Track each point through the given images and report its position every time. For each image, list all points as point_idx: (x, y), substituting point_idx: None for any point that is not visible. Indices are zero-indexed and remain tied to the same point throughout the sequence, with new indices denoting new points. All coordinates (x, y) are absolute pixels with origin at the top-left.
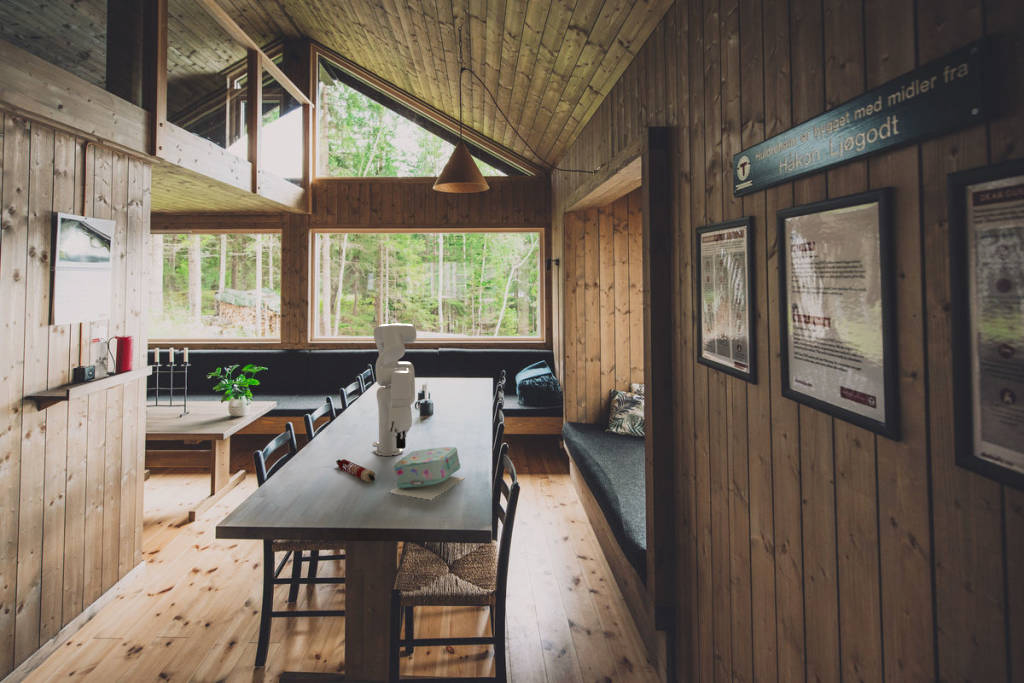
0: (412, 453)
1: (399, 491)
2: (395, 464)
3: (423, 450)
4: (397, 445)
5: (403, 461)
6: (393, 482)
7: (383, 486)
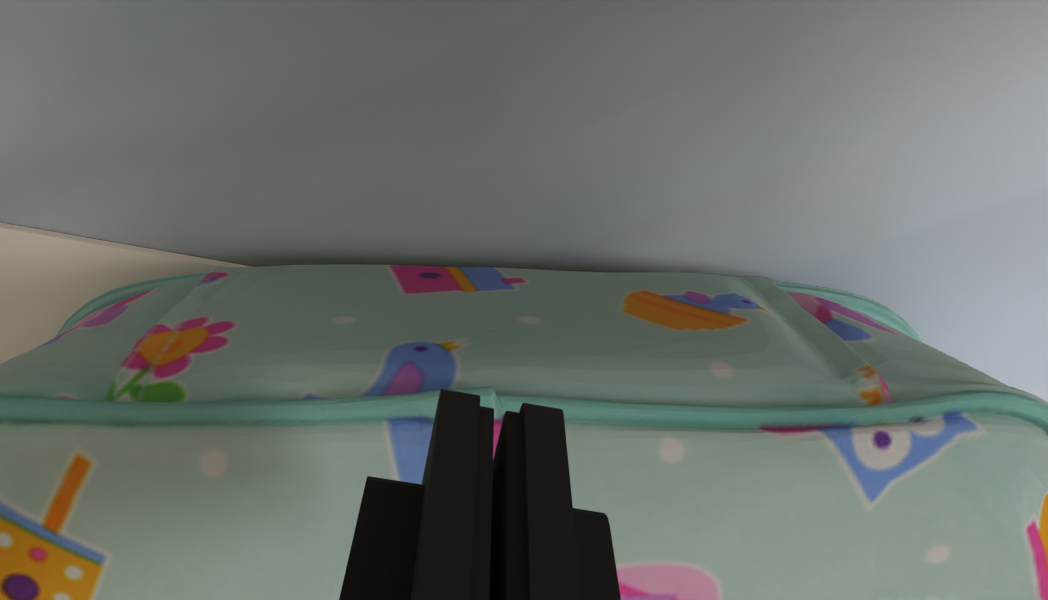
0: (680, 525)
1: (52, 335)
2: (10, 413)
3: (979, 594)
4: (366, 496)
5: (65, 577)
6: (380, 104)
7: (170, 28)
